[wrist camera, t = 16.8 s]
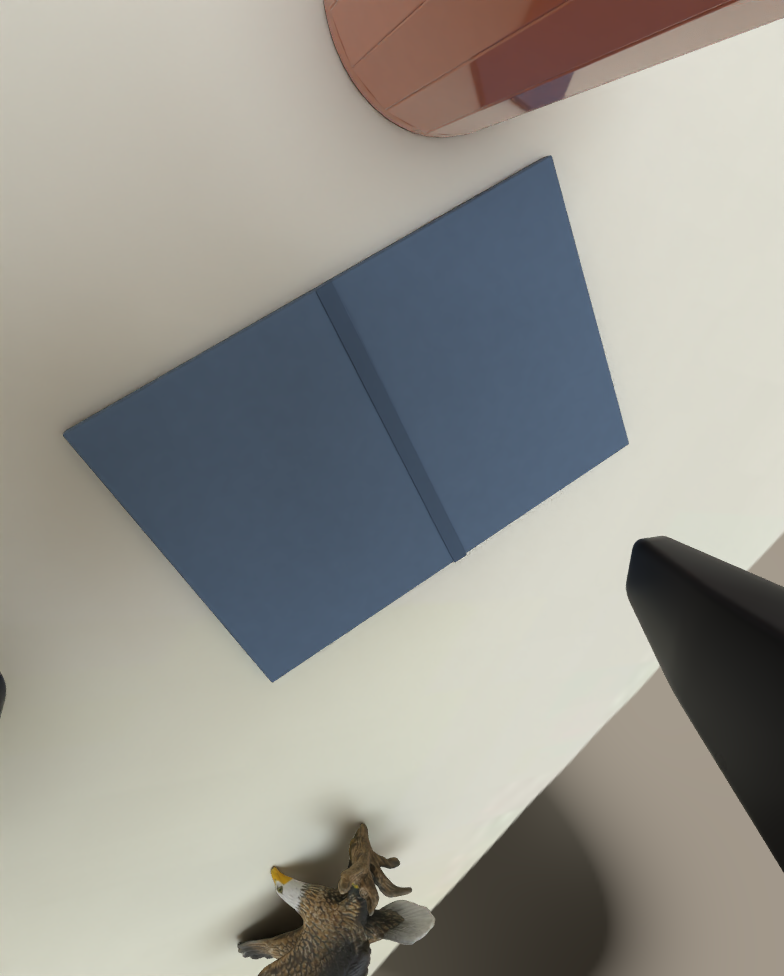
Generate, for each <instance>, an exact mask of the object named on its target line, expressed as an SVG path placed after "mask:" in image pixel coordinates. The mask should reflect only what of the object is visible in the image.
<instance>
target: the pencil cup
mask: <svg viewBox="0 0 784 976" xmlns="http://www.w3.org/2000/svg"><path fill="white" fill-rule="evenodd" d="M324 7H325V11H326V16H327V21H328V25H329V29H330V32H331V35H332V38H333V41H334V45H335V47H336V49H337V52H338V54H339V56H340V59H341V61H342V63H343V65H344V67H345V69H346V71H347V72H348V74H349V76H350V78H351V79H352V81H353V82H354V84H355V85H356V87H357V88H358V89H359V91H360V92H361V93H362V95H363V96H364V97H365V98H366V99H367V100H368V101H369V103H370V104H371V105H372V106H373V107H374V108H375V109H376V110H378V111H379V112H380V113H381V114H382V115H383V116H385V117H386V118H387V119H389V120H390V121H392V122H393V123H395V124H397V125H398V126H400V127H402V128H404V129H406V130H409V131H411V132H414V133H417V134H421V135H424V136H431V137H453V136H457V135H466V134H470V133H473V132H476V131H478V130H481V129H484V128H486V127H489V126H492V125H495V124H497V123H500V122H503V121H505V120H508V119H511V118H514V117H516V116H519V115H522V114H524V113H527V112H530V111H533V110H535V109H538V108H541V107H543V106H546V105H549V104H552V103H554V102H557V101H560V100H562V99H565V98H568V97H571V96H573V95H576V94H579V93H581V92H584V91H587V90H590V89H592V88H595V87H598V86H600V85H603V84H606V83H609V82H611V81H614V80H617V79H619V78H622V77H625V76H627V75H630V74H633V73H636V72H638V71H641V70H644V69H646V68H649V67H652V66H655V65H657V64H660V63H663V62H665V61H668V60H671V59H674V58H676V57H679V56H682V55H684V54H687V53H690V52H693V51H695V50H698V49H701V48H703V47H706V46H709V45H712V44H714V43H717V42H720V41H722V40H725V39H728V38H731V37H733V36H736V35H739V34H741V33H744V32H747V31H750V30H752V29H755V28H758V27H760V26H763V25H766V24H769V23H771V22H774V21H777V20H779V19H782V18H784V0H324Z"/></svg>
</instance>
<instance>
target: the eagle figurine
mask: <svg viewBox="0 0 784 976" xmlns="http://www.w3.org/2000/svg"><path fill="white" fill-rule="evenodd" d="M349 857H350V860H349V866H348V869H346V870H344V871H343V872H342V873H341V878H340V881H339V882H338V888H337V889H334V888H330V887H326V886H322V885H317V884H308V883H305V882H300V881H297V880H296V879H294V878H291V877H288V876H285V875H284V874H282V873H281V872H280V871H278V870H277V868H276V867H273V869H272V870H271V874H272V878H273V880H274V883H275V888H276V892H277V894H278V895H279V896H280V897H281V898H282V899H283V900H284V901H285V902H286V903H288V904H289V905H290V906H291V907H293V908H294V909H295V910H296V911H297V912H298V913H299V914H300V915H301V917H302V918H303V926H301V927H300V928H298V929H295V930H293V931H290V932H286V933H284V934H280V935H277V936H275V937H272V938H266V939H260V940H255V941H247V942H243V943H239V944H238V945H237V947H238V948H239V949H238V951H239V952H240V953H243V957H244V958H246V957H249V956H250V957H251V958H252V959H259V958H262V957H265V958H267V959H269V958H276V959H277V960H276V961H274V962H273V963H271V964H269V965H268V966H266V967H265V968H264V969H263V970H262V971H261V972H260V973H259V975H258V976H367V974H368V966H369V964H370V954H371V949H370V944H371V943H373V942H376V941H379V940H381V939H386V940H391V941H394V942H398V943H401V944H405V945H411V944H413V943H414V942H416V941H417V940H420V939H421V938H422V937H423V936H425V935H426V934H427V933H428V932H429V930H430V929H431V928H432V927H433V926H434V924H435V923H434V921H435V918H434V917H433V915H432V914H431V912H430V910H429V909H428V908H427V907H424V906H420V905H418V904H415V903H413V902H409V901H406V900H398V901H394V902H392V903H390V904H388V905H386V906H384V907H382V908H381V909H380V910H376V909H375V908H376V906H377V904H378V901H379V896H378V892H377V889H376V887H375V885H377V886H378V887H379V889H380V891H381V892H382V893H383V894H384V895H385V896H387V897H390V898H391V897H397V896H402V895H406V894H409V893H410V892H412V888H410V887H407V888H402V887H397V886H395V885H394V884H393V883H392V882H391V881H390V880H389V879H388V878H387V877H386V876H385V874H384V873H383V872H382V870H381V868H380V867H385V868H389V869H391V868H395V867H397V866H399V865H400V861H399V860H398V859H397V858H395V857H393V858H389V859H386V858H385V857H383V856H379V855H378V854H376V853H375V852H374V851H373V850H372V847H371V845H370V842H369V838H368V829H367V827H366V825H365V824H364V823H362V824H361V825H360V828H359V829H358V830H357V831H356V834H355V836H354V838H353V839H352V840H351V842H350V848H349Z"/></svg>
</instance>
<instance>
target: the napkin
mask: <svg viewBox="0 0 784 976" xmlns="http://www.w3.org/2000/svg"><path fill="white" fill-rule="evenodd" d="M63 436H64V437H65V439H66V440H67V441H68V442H69V443H70V444H71V446H72V447H73V448H74V449H75V450H76V452H77V453H78V454H79V455H80V456H81V457H82V459H83V460H84V461H85V462H86V463H87V465H88V466H89V467H90V468H91V469H92V470H93V472H94V473H95V474H96V475H97V476H98V478H99V479H100V480H101V481H102V482H103V483H104V485H105V486H106V487H107V488H108V489H109V491H110V492H111V493H112V494H113V495H114V496H115V498H116V499H117V500H118V501H119V502H120V504H121V505H122V506H123V507H124V508H125V509H126V511H127V512H128V513H129V514H130V515H131V517H132V518H133V519H134V520H135V521H136V523H137V524H138V525H139V526H140V527H141V528H142V530H143V531H144V532H145V533H146V534H147V536H148V537H149V538H150V539H151V540H152V541H153V543H154V544H155V545H156V546H157V547H158V549H159V550H160V551H161V552H162V553H163V554H164V556H165V557H166V558H167V559H168V560H169V562H170V563H171V564H172V565H173V566H174V567H175V569H176V570H177V571H178V572H179V573H180V575H181V576H182V577H183V578H184V579H185V580H186V582H187V583H188V584H189V585H190V586H191V588H192V589H193V590H194V591H195V592H196V593H197V595H198V596H199V597H200V598H201V599H202V601H203V602H204V603H205V604H206V605H207V606H208V608H209V609H210V610H211V611H212V612H213V614H214V615H215V616H216V617H217V618H218V619H219V621H220V622H221V623H222V624H223V625H224V627H225V628H226V629H227V630H228V631H229V632H230V634H231V635H232V636H233V637H234V638H235V640H236V641H237V642H238V643H239V644H240V645H241V647H242V648H243V649H244V650H245V651H246V653H247V654H248V655H249V656H250V657H251V658H252V660H253V661H254V662H255V663H256V664H257V666H258V667H259V668H260V669H261V670H262V671H263V673H264V674H265V675H266V676H267V677H268V679H269V680H270V681H271V682H274V681H275V680H277V679H278V678H280V677H281V676H283V675H284V674H286V673H287V672H289V671H290V670H292V669H293V668H295V667H296V666H298V665H299V664H301V663H302V662H304V661H305V660H307V659H308V658H310V657H311V656H313V655H314V654H316V653H317V652H319V651H320V650H322V649H323V648H325V647H326V646H328V645H329V644H331V643H332V642H334V641H335V640H337V639H338V638H340V637H341V636H343V635H344V634H346V633H347V632H349V631H350V630H352V629H353V628H355V627H356V626H358V625H359V624H361V623H362V622H364V621H365V620H367V619H368V618H370V617H371V616H373V615H374V614H376V613H377V612H379V611H380V610H382V609H383V608H385V607H386V606H387V605H389V604H390V603H392V602H393V601H395V600H396V599H398V598H399V597H401V596H402V595H404V594H405V593H407V592H408V591H410V590H411V589H413V588H414V587H416V586H417V585H419V584H420V583H422V582H423V581H425V580H426V579H428V578H429V577H431V576H432V575H434V574H435V573H437V572H438V571H440V570H441V569H443V568H444V567H446V566H447V565H449V564H450V563H452V562H453V561H454V562H457V561H458V560H460V559H461V558H463V557H464V556H466V555H467V554H466V553H467V552H468V551H470V550H471V549H473V548H474V547H476V546H477V545H479V544H480V543H482V542H483V541H485V540H486V539H488V538H489V537H491V536H492V535H494V534H495V533H497V532H498V531H500V530H501V529H503V528H504V527H505V526H507V525H508V524H510V523H511V522H513V521H514V520H516V519H517V518H519V517H520V516H522V515H523V514H525V513H526V512H528V511H529V510H531V509H532V508H534V507H535V506H537V505H538V504H540V503H541V502H543V501H544V500H546V499H547V498H549V497H550V496H552V495H553V494H555V493H556V492H558V491H559V490H561V489H562V488H564V487H565V486H567V485H568V484H570V483H571V482H573V481H574V480H576V479H577V478H579V477H580V476H582V475H583V474H585V473H586V472H588V471H589V470H591V469H592V468H594V467H595V466H597V465H598V464H600V463H601V462H603V461H604V460H606V459H607V458H609V457H610V456H612V455H613V454H615V453H616V452H618V451H619V450H620V449H622V448H623V447H625V446H626V445H628V444H629V442H628V438H627V435H626V431H625V427H624V424H623V420H622V416H621V412H620V409H619V405H618V401H617V397H616V394H615V390H614V386H613V383H612V379H611V375H610V371H609V368H608V364H607V360H606V357H605V353H604V349H603V345H602V342H601V338H600V334H599V330H598V327H597V323H596V319H595V316H594V312H593V308H592V304H591V301H590V297H589V293H588V289H587V286H586V282H585V278H584V275H583V271H582V267H581V263H580V260H579V256H578V252H577V249H576V245H575V241H574V237H573V234H572V230H571V226H570V222H569V219H568V215H567V211H566V208H565V204H564V200H563V196H562V193H561V189H560V185H559V182H558V178H557V174H556V170H555V167H554V163H553V159H552V156H546V157H543V158H542V159H540V160H538V161H536V162H535V163H533V164H531V165H529V166H528V167H526V168H524V169H522V170H521V171H519V172H517V173H515V174H514V175H512V176H510V177H508V178H507V179H505V180H503V181H501V182H500V183H498V184H496V185H494V186H493V187H491V188H489V189H487V190H486V191H484V192H482V193H480V194H479V195H477V196H475V197H473V198H472V199H470V200H468V201H466V202H465V203H463V204H461V205H459V206H458V207H456V208H454V209H452V210H451V211H449V212H447V213H445V214H444V215H442V216H440V217H438V218H437V219H435V220H433V221H431V222H430V223H428V224H426V225H424V226H423V227H421V228H419V229H418V230H416V231H414V232H412V233H411V234H409V235H407V236H405V237H404V238H402V239H400V240H398V241H397V242H395V243H393V244H391V245H390V246H388V247H386V248H384V249H383V250H381V251H379V252H377V253H376V254H374V255H372V256H370V257H369V258H367V259H365V260H363V261H362V262H360V263H358V264H356V265H355V266H353V267H351V268H349V269H348V270H346V271H344V272H342V273H341V274H339V275H337V276H335V277H334V278H332V279H330V280H328V281H327V282H325V283H323V284H321V285H320V286H318V287H316V288H314V289H313V290H311V291H309V292H307V293H306V294H304V295H302V296H300V297H299V298H297V299H295V300H293V301H292V302H290V303H288V304H286V305H285V306H283V307H281V308H279V309H278V310H276V311H274V312H272V313H271V314H269V315H267V316H265V317H264V318H262V319H260V320H258V321H257V322H255V323H253V324H251V325H250V326H248V327H246V328H244V329H243V330H241V331H239V332H237V333H236V334H234V335H232V336H230V337H229V338H227V339H225V340H223V341H222V342H220V343H218V344H216V345H215V346H213V347H211V348H209V349H208V350H206V351H204V352H202V353H201V354H199V355H197V356H195V357H194V358H192V359H190V360H188V361H187V362H185V363H183V364H181V365H180V366H178V367H176V368H174V369H173V370H171V371H169V372H167V373H166V374H164V375H162V376H160V377H159V378H157V379H155V380H153V381H152V382H150V383H148V384H146V385H145V386H143V387H141V388H139V389H138V390H136V391H134V392H132V393H131V394H129V395H127V396H125V397H124V398H122V399H120V400H118V401H117V402H115V403H113V404H111V405H110V406H108V407H106V408H104V409H103V410H101V411H99V412H97V413H96V414H94V415H92V416H90V417H89V418H87V419H85V420H83V421H82V422H80V423H78V424H76V425H75V426H73V427H71V428H69V429H68V430H66V431H65V432H64V433H63Z"/></svg>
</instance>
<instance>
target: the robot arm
mask: <svg viewBox="0 0 784 976" xmlns="http://www.w3.org/2000/svg"><path fill="white" fill-rule="evenodd" d="M626 591H627V596H628V599H629V601H630V603H631V606H632V608H633V610H634V612H635V614H636V616H637V618H638V620H639V622H640V624H641V627H642V629H643V631H644V633H645V635H646V637H647V639H648V641H649V643H650V645H651V647H652V650H653V652H654V654H655V656H656V658H657V660H658V662H659V664H660V666H661V668H662V671H663V673H664V675H665V677H666V679H667V681H668V683H669V685H670V686H671V688H672V690H673V692H674V694H675V696H676V697H677V699H678V701H679V702H680V704H681V706H682V707H683V709H684V711H685V712H686V714H687V716H688V717H689V719H690V721H691V722H692V724H693V725H694V727H695V729H696V730H697V732H698V734H699V735H700V737H701V739H702V740H703V742H704V743H705V745H706V747H707V748H708V750H709V751H710V753H711V755H712V756H713V758H714V760H715V761H716V763H717V765H718V766H719V768H720V770H721V771H722V772H723V774H724V776H725V778H726V779H727V781H728V783H729V784H730V786H731V787H732V789H733V791H734V792H735V794H736V796H737V797H738V799H739V800H740V802H741V804H742V805H743V807H744V809H745V810H746V812H747V813H748V815H749V817H750V818H751V820H752V822H753V823H754V825H755V826H756V828H757V830H758V831H759V833H760V835H761V836H762V838H763V840H764V841H765V843H766V844H767V846H768V848H769V849H770V851H771V853H772V854H773V856H774V858H775V859H776V861H777V862H778V864H779V866H780V867H781V869H782V871H783V872H784V587H782V586H780V585H777V584H775V583H773V582H771V581H768V580H766V579H764V578H761V577H759V576H757V575H755V574H752V573H750V572H748V571H745V570H743V569H741V568H738V567H736V566H734V565H731V564H729V563H727V562H724V561H722V560H720V559H717V558H715V557H713V556H711V555H708V554H706V553H704V552H701V551H699V550H697V549H694V548H692V547H690V546H687V545H685V544H683V543H680V542H678V541H676V540H673V539H671V538H669V537H666V536H657V537H651V538H644V539H639V540H638V541H636V542H635V544H634V545H633V549H632V554H631V559H630V565H629V570H628V575H627V581H626ZM5 697H6V685H5V681H4V678H3V676H2V674H1V673H0V717H1V713H2V709H3V705H4V701H5Z"/></svg>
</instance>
